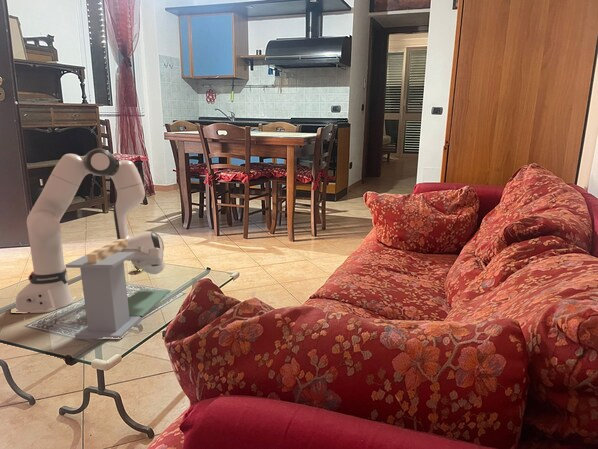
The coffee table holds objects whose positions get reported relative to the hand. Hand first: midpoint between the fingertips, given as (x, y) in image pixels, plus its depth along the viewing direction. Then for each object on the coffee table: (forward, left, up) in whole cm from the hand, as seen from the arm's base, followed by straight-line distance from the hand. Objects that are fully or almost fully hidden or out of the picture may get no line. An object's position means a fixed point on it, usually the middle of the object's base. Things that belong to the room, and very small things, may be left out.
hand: (127, 248), depth 171 cm
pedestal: (-6, -18, -25) cm, 31 cm away
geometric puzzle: (-2, +54, -25) cm, 60 cm away
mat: (+2, +6, -25) cm, 25 cm away
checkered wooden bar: (-5, -13, +1) cm, 14 cm away
